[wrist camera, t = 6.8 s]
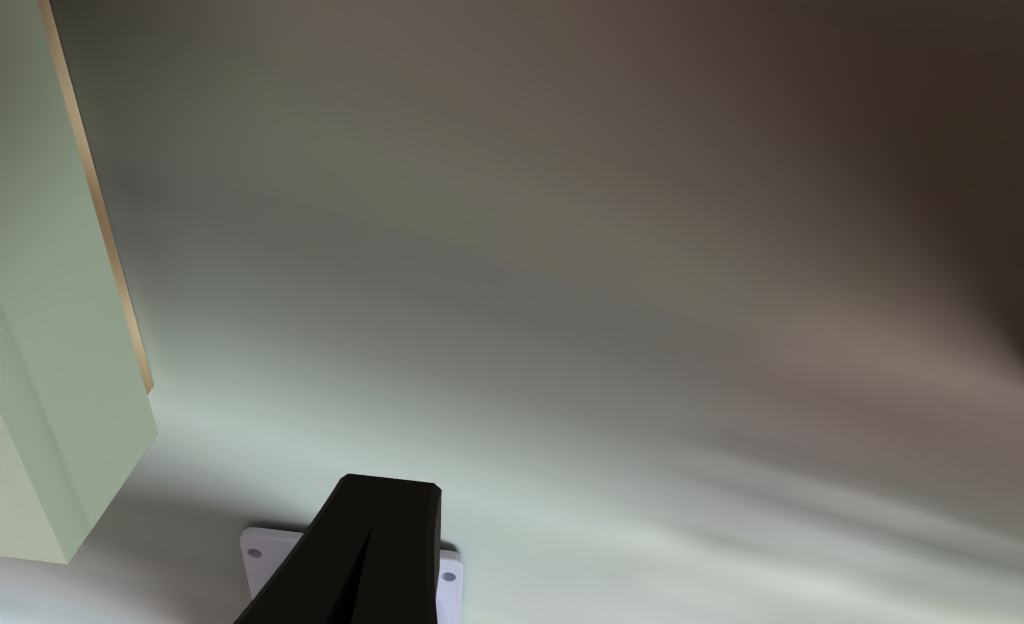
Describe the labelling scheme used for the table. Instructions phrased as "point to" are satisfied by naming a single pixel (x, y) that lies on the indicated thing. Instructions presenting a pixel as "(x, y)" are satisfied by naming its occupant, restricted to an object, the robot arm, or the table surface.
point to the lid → (56, 320)
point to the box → (93, 184)
